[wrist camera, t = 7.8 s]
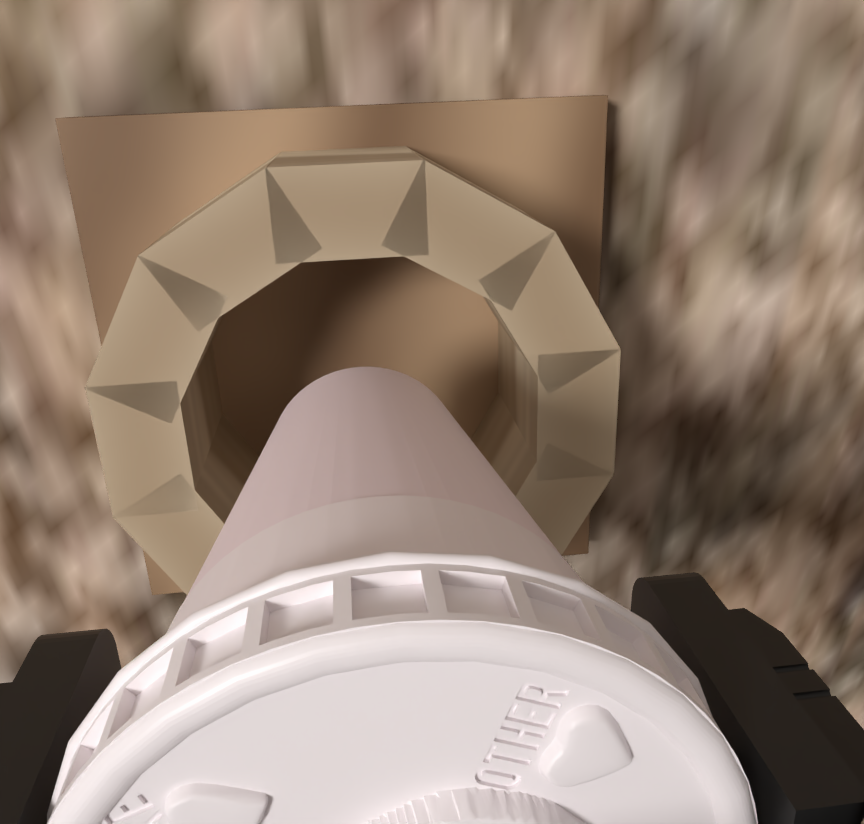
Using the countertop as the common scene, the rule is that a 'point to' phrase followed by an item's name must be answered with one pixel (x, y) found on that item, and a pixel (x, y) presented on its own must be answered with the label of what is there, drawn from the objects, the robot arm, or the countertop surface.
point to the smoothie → (395, 655)
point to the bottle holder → (342, 294)
